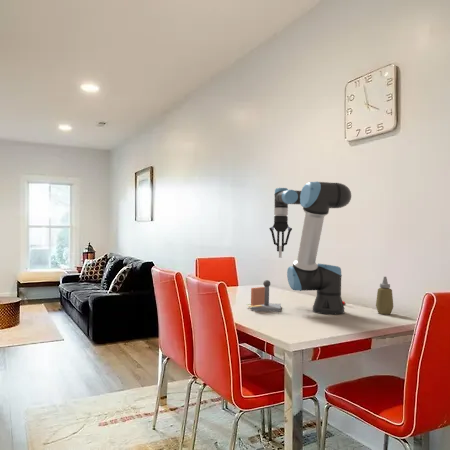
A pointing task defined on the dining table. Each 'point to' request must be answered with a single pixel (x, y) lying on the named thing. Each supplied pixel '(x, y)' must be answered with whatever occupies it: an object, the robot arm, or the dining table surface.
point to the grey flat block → (266, 307)
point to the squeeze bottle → (384, 298)
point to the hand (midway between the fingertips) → (280, 257)
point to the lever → (260, 294)
